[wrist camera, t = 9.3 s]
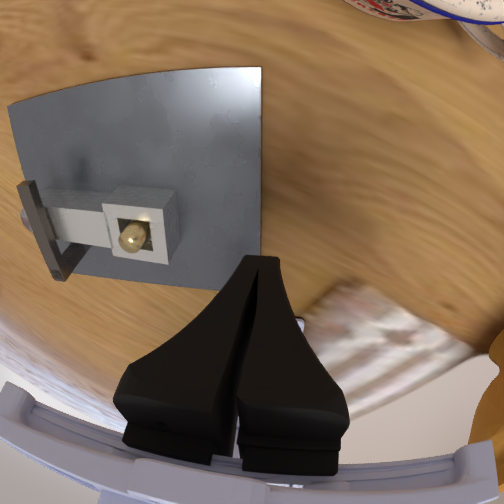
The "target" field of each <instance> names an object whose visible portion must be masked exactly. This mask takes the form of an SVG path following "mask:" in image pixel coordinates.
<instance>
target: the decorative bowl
mask: <svg viewBox="0 0 504 504" xmlns="http://www.w3.org/2000/svg"><path fill="white" fill-rule="evenodd" d="M489 358H490V359H491V360H492V361H493V362H494V363H495V364H496V365H498V366H499V368H500V372H499V375H498V376H497V377H496V378H495V379H494V380H493V381H492V382H491V383H490V385H489V387H488V388H487V389H486V391H485V392H484V394H483V396H482V398H481V400H480V402H479V404H478V406H477V409H476V412H475V415H474V419H473V424H472V428H471V433H470V437H469V442H468V444H472V443H476V442H481V441H485V440H489V439H490V440H492V443H493V449H494V456H495V462H496V470H497V478H498V488H499V493H500V492H503V491H504V329H503V330H502V331H501V332H500V333H499V334H498V336H497V337H496V338H495V340H494V341H493V343H492V344H491V346H490V349H489Z"/></svg>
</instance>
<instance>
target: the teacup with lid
mask: <svg viewBox="0 0 504 504" xmlns="http://www.w3.org/2000/svg"><path fill="white" fill-rule="evenodd" d="M344 1H346V2H347V3H349V4H350V5H352V6H354V7H355V8H357V9H359V10H361V11H363V12H365V13H368V14H370V15H373V16H376V17H379V18H383V19H387V20H392V21H406V22H408V21H420V20H434V19H454V20H456V21H457V22H458V23H459V24H460V26H461V27H462V28H463V29H464V30H465V31H466V32H467V34H468V35H469V36H470V37H471V38H472V39H473V40H474V41H475V42H476V43H478V44H479V45H480V46H481V47H482V48H483V49H485V50H486V51H487V52H489V53H490V54H491V55H493V56H494V57H496V58H497V59H499V60H501V61H502V62H504V40H503V39H501V38H500V37H498V36H497V35H495V34H494V33H493V32H492V31H490V30H489V29H488V28H487V27H486V26H485V25H495V24H500V25H501V26H502V28H503V29H504V0H344Z"/></svg>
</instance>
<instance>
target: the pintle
mask: <svg viewBox="0 0 504 504" xmlns="http://www.w3.org/2000/svg"><path fill="white" fill-rule="evenodd" d="M150 233H151V230H150V223H149V221H142V220H133V219H132V220H131V221H130V223H129V224H128V225H127V227H126V228H125V229H124V231H123V232H122V233H121V235H120V236H119V238H118V242H119V245H120V247H121V248H122V249H123V250H124V251H126V252H128V253H137V252H138V251H139V250H140V248H141V247H142V245H143V244H144V242H145V240H146V239H147V237H148V236H149V234H150Z"/></svg>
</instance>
